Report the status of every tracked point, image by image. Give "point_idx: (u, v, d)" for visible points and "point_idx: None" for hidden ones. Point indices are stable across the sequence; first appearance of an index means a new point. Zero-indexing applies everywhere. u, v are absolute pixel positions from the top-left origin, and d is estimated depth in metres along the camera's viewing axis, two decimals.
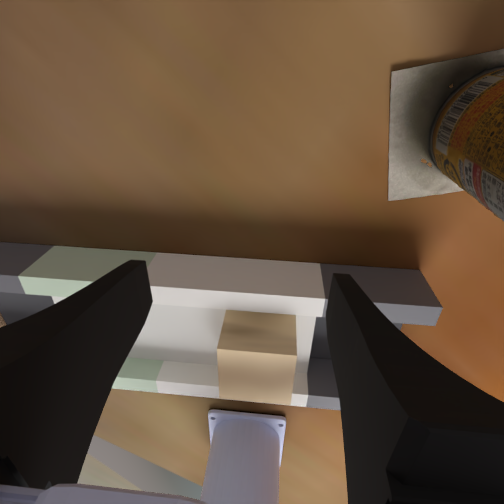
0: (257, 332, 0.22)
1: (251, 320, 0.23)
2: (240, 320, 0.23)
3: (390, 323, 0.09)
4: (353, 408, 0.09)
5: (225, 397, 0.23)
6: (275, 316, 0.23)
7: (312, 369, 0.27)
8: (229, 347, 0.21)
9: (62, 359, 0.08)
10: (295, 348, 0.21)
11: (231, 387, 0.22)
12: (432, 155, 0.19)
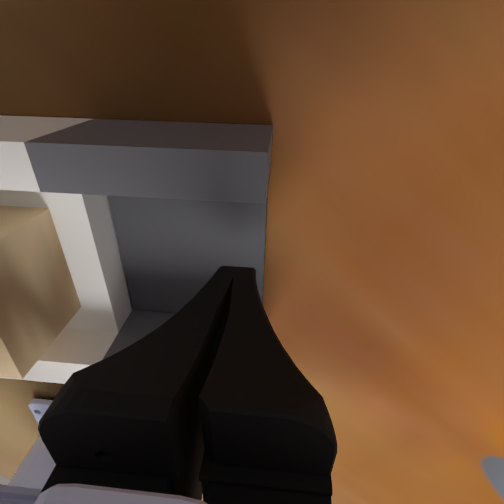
0: None
1: None
2: None
3: (261, 313, 0.09)
4: None
5: None
6: (1, 212, 0.12)
7: (131, 326, 0.16)
8: None
9: (202, 372, 0.08)
10: None
11: None
12: None
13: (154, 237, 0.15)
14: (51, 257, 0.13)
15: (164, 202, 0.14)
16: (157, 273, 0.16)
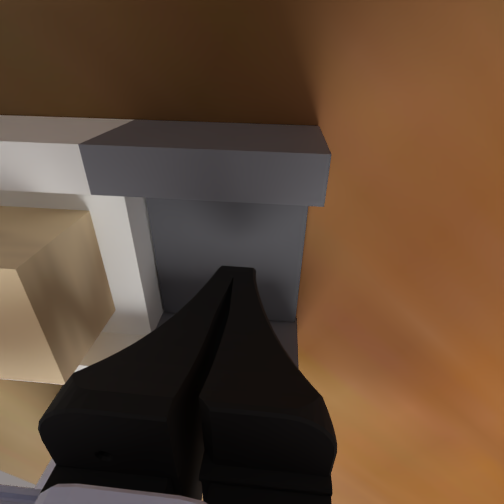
0: None
1: None
2: None
3: (261, 313, 0.09)
4: None
5: None
6: (43, 215, 0.12)
7: None
8: None
9: (202, 372, 0.08)
10: (26, 258, 0.10)
11: None
12: None
13: (190, 239, 0.15)
14: (91, 260, 0.13)
15: (203, 204, 0.14)
16: (191, 276, 0.16)
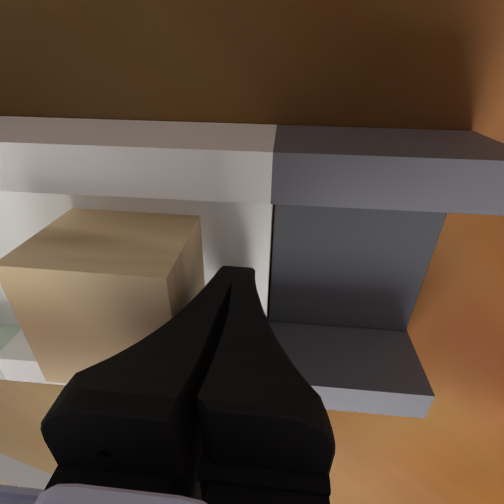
0: (104, 241, 0.10)
1: (104, 225, 0.11)
2: (82, 225, 0.11)
3: (260, 313, 0.09)
4: None
5: (56, 379, 0.12)
6: (156, 220, 0.12)
7: None
8: (22, 263, 0.09)
9: (204, 372, 0.08)
10: (169, 265, 0.09)
11: (59, 358, 0.11)
12: None
13: (313, 247, 0.14)
14: (198, 266, 0.13)
15: (335, 211, 0.13)
16: (306, 283, 0.15)
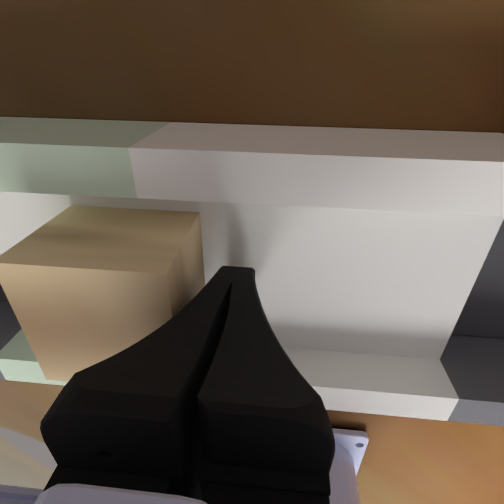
0: (103, 238, 0.10)
1: (104, 222, 0.11)
2: (81, 222, 0.11)
3: (260, 313, 0.09)
4: None
5: (57, 377, 0.12)
6: (156, 217, 0.12)
7: (446, 352, 0.15)
8: (21, 260, 0.09)
9: (203, 372, 0.08)
10: (169, 261, 0.09)
11: (59, 356, 0.11)
12: None
13: None
14: (198, 263, 0.12)
15: None
16: (483, 295, 0.15)
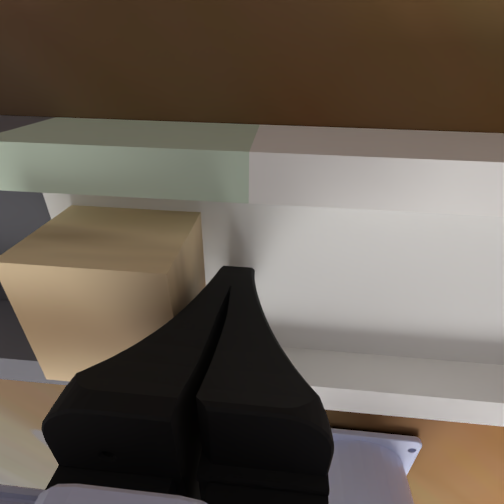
0: (104, 238, 0.10)
1: (104, 222, 0.11)
2: (82, 221, 0.11)
3: (259, 313, 0.09)
4: None
5: (57, 377, 0.12)
6: (157, 217, 0.12)
7: None
8: (22, 260, 0.09)
9: (204, 372, 0.08)
10: (170, 262, 0.09)
11: (60, 356, 0.11)
12: None
13: None
14: (199, 263, 0.12)
15: None
16: None
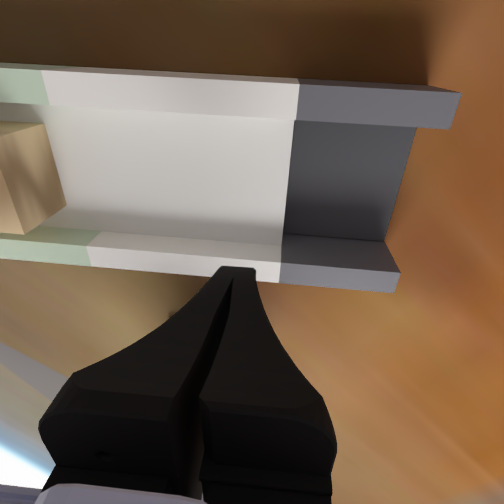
0: None
1: None
2: None
3: (261, 313, 0.09)
4: None
5: None
6: (12, 123, 0.18)
7: (288, 243, 0.22)
8: None
9: (202, 372, 0.08)
10: None
11: None
12: None
13: (318, 171, 0.20)
14: (45, 159, 0.19)
15: (335, 142, 0.19)
16: (312, 201, 0.21)
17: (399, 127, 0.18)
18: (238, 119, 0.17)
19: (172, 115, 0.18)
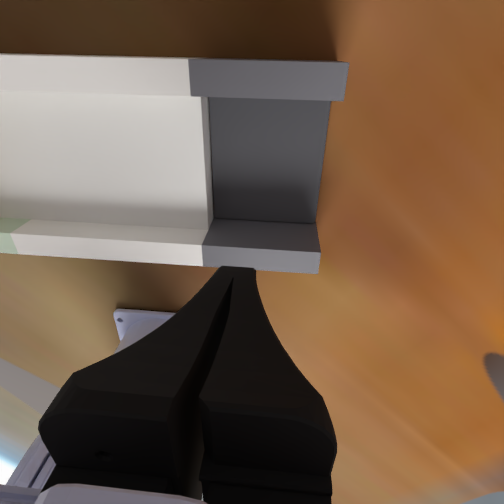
0: None
1: None
2: None
3: (261, 313, 0.09)
4: None
5: None
6: None
7: (217, 227, 0.21)
8: None
9: (202, 372, 0.08)
10: None
11: None
12: None
13: (240, 152, 0.20)
14: None
15: (251, 123, 0.19)
16: (238, 184, 0.21)
17: (313, 105, 0.18)
18: (146, 100, 0.17)
19: (81, 98, 0.18)
